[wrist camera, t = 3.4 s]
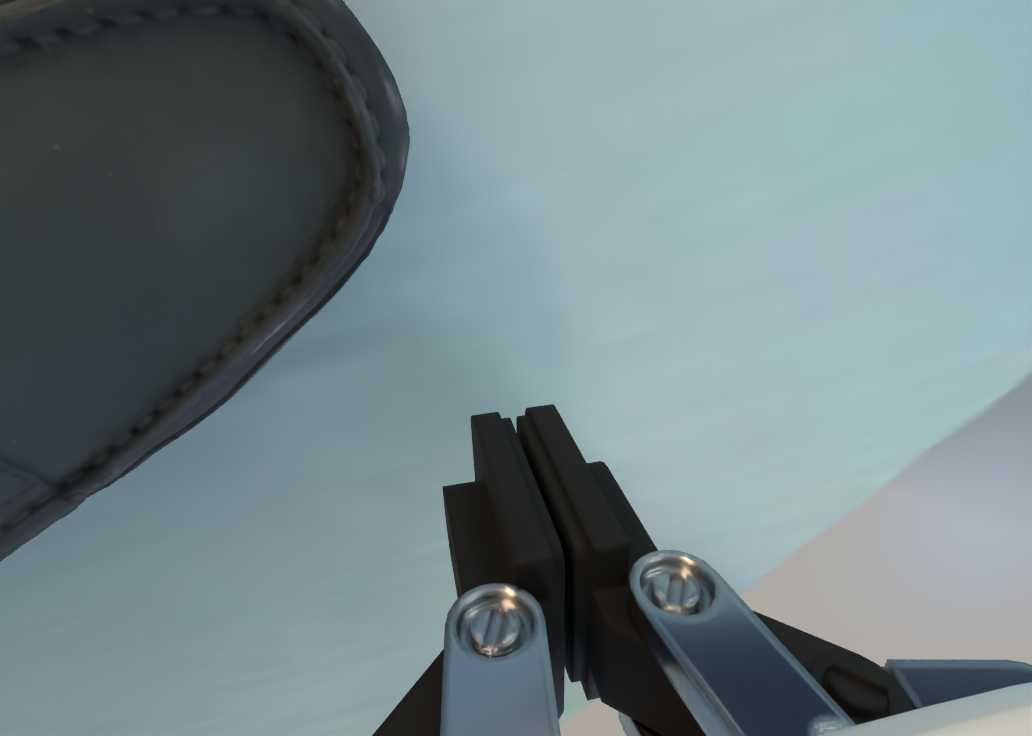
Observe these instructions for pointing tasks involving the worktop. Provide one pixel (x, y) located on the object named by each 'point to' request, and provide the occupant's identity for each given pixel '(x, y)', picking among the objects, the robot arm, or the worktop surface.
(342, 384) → the worktop surface
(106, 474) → the loafer
